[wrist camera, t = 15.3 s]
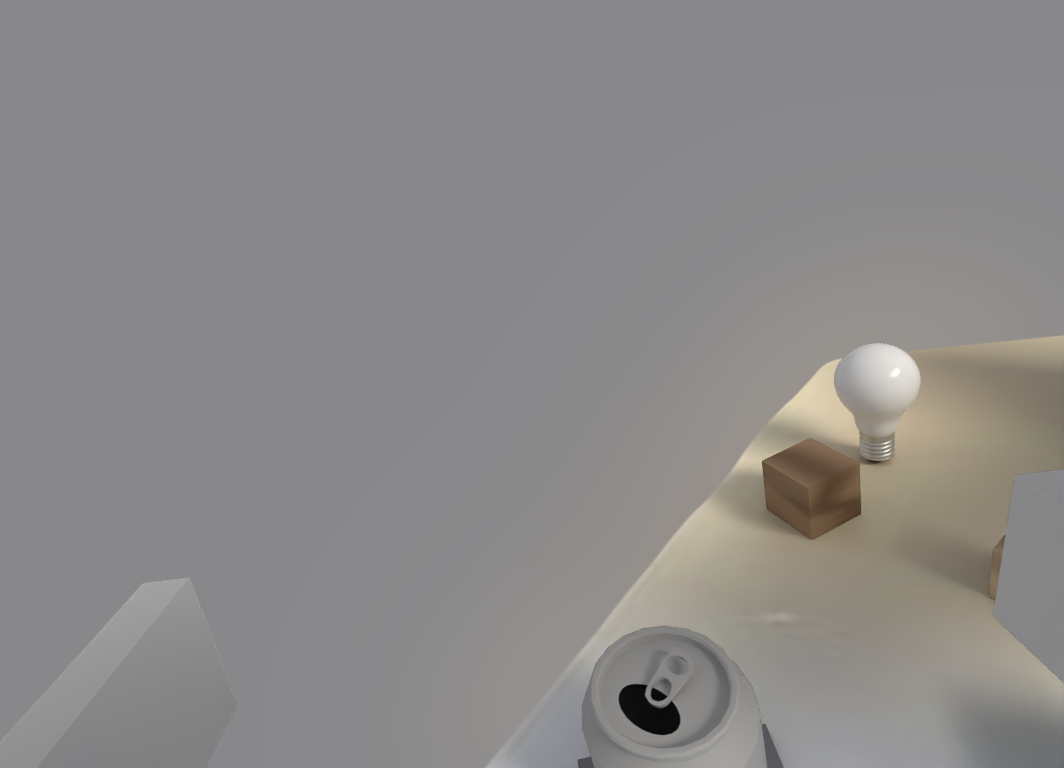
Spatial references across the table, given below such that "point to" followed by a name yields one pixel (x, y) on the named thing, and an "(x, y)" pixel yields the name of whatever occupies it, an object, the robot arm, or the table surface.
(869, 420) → the lightbulb
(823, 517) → the walnut block
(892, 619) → the table surface
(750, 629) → the table surface
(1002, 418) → the table surface
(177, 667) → the robot arm
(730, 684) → the can
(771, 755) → the coaster
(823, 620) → the table surface
